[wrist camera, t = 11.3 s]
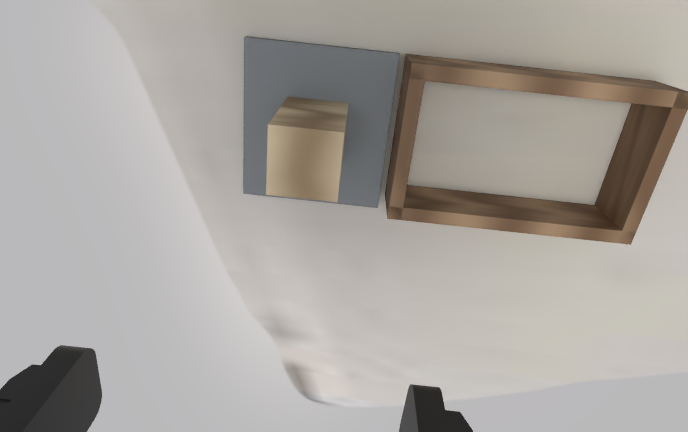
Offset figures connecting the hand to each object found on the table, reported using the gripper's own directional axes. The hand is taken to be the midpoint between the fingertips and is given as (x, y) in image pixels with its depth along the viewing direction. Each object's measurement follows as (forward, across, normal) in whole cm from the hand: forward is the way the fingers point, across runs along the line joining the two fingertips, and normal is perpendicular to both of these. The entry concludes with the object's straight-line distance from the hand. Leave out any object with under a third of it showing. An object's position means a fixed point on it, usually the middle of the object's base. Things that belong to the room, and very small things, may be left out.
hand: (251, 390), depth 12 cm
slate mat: (+27, +1, 0) cm, 27 cm away
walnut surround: (+27, -14, 0) cm, 30 cm away
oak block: (+26, +1, 0) cm, 26 cm away
